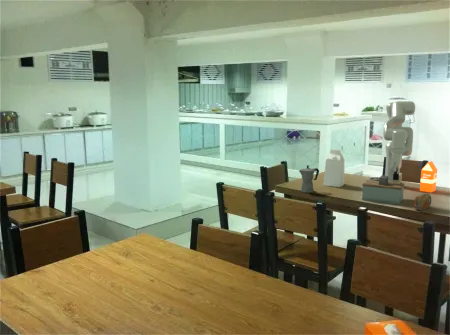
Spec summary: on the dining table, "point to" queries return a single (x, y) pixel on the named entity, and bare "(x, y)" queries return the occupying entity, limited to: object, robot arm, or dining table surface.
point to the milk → (334, 169)
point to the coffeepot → (308, 179)
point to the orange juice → (428, 178)
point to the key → (398, 180)
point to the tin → (422, 202)
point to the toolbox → (382, 195)
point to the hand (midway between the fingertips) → (395, 179)
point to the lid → (383, 183)
